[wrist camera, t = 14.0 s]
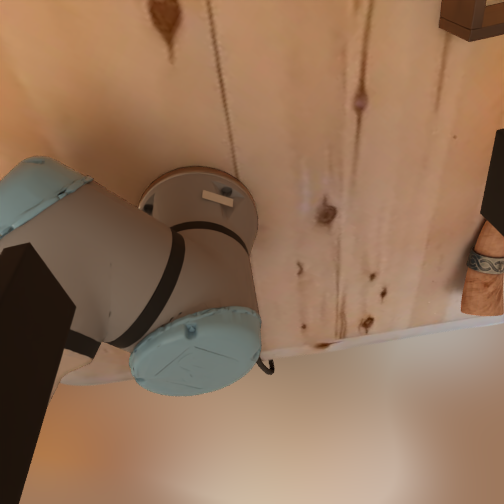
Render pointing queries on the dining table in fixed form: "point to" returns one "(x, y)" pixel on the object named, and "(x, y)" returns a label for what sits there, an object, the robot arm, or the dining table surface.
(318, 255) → the dining table surface
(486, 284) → the curved blowing horn
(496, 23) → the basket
